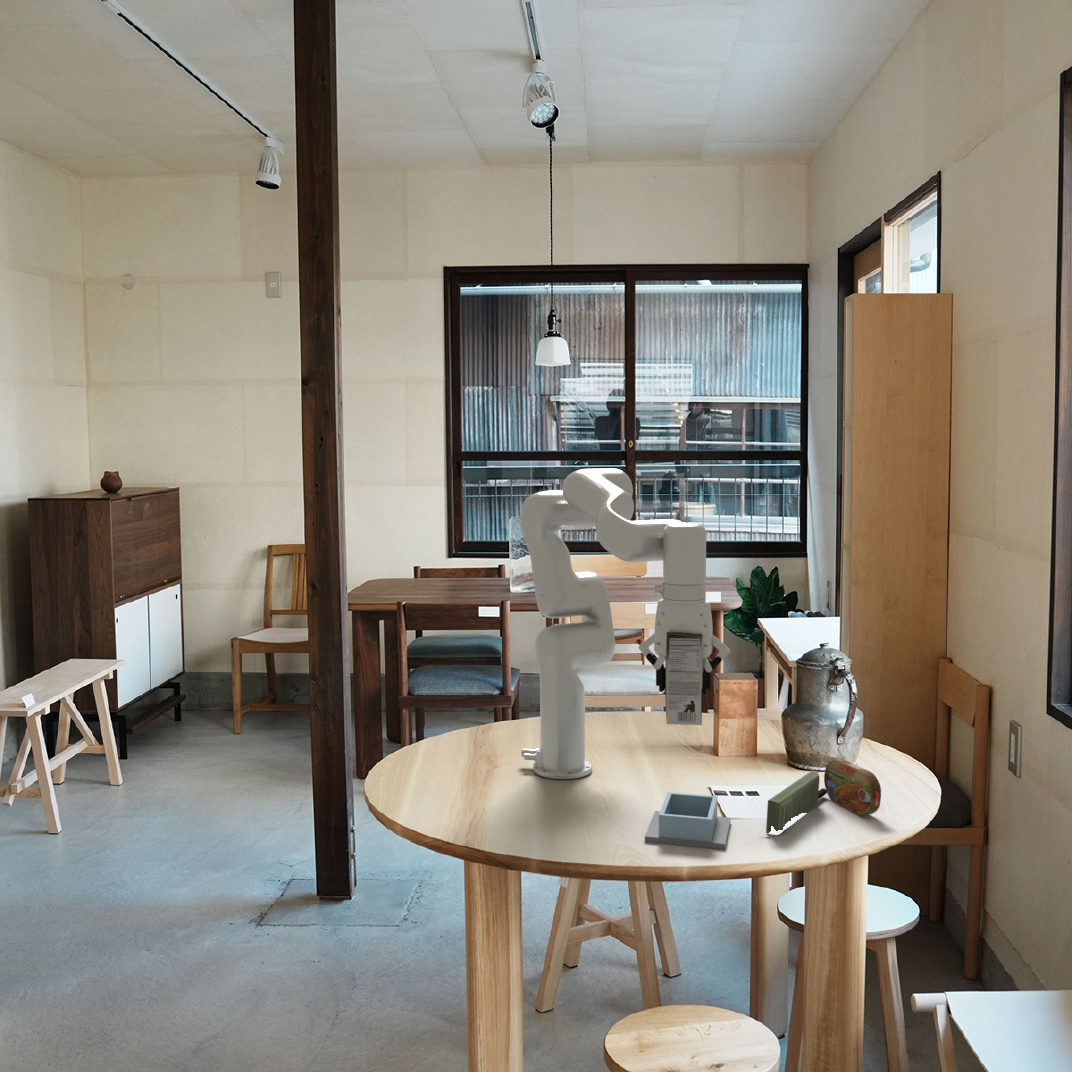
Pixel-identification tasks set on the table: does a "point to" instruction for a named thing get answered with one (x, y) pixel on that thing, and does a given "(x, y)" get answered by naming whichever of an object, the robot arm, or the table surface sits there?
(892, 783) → the table surface
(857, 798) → the tin
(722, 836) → the light blue open box
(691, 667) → the coffee box
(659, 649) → the robot arm
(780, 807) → the handheld radio
